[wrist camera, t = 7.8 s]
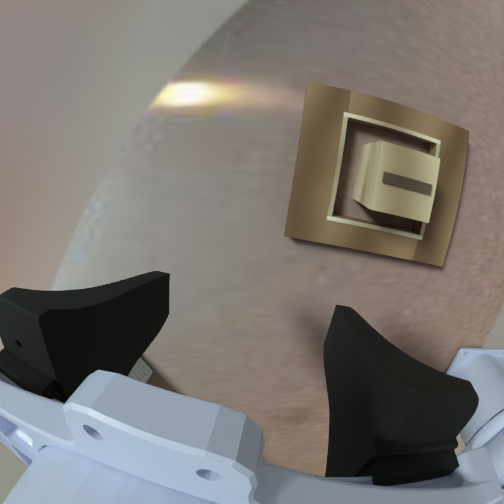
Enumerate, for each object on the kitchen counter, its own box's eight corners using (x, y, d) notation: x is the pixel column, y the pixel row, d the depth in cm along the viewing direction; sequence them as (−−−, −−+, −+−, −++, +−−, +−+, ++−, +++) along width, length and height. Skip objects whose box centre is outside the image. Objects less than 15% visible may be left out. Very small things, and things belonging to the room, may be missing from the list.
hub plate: (461, 132, 16) (469, 131, 15) (436, 261, 20) (442, 267, 19) (306, 86, 18) (307, 81, 16) (284, 232, 21) (283, 236, 20)
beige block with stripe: (409, 158, 18) (442, 158, 13) (401, 209, 19) (430, 223, 14) (361, 145, 18) (382, 140, 14) (352, 198, 20) (370, 210, 15)
